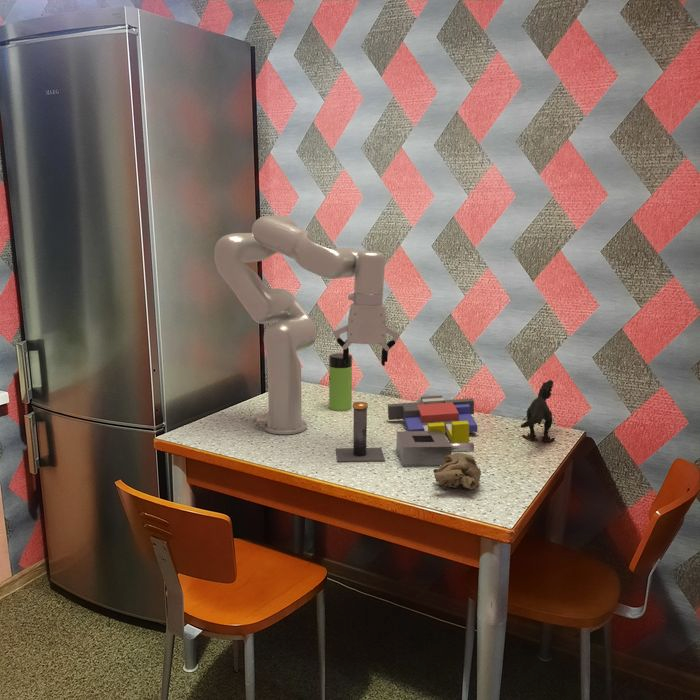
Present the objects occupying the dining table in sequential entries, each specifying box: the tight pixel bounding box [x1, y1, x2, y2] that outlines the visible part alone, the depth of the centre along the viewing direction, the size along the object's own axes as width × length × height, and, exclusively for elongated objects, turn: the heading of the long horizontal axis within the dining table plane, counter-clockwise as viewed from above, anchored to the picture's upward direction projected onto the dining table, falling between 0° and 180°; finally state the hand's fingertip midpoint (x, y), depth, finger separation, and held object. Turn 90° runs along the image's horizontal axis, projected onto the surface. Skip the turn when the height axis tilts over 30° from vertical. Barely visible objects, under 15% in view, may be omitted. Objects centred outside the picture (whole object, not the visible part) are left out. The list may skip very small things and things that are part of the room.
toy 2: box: [520, 379, 556, 444], centre depth 175 cm, size 9×28×15 cm, turn 151°
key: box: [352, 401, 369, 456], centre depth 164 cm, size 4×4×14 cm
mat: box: [335, 447, 386, 463], centre depth 165 cm, size 12×9×1 cm
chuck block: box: [395, 430, 475, 468], centre depth 164 cm, size 19×12×5 cm, turn 94°
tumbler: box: [328, 352, 353, 412], centre depth 205 cm, size 8×8×17 cm
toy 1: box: [387, 394, 478, 443], centre depth 185 cm, size 26×9×30 cm
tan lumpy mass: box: [433, 452, 482, 490], centre depth 146 cm, size 7×11×15 cm
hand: (364, 363), depth 169 cm, fingers open, 9 cm apart
